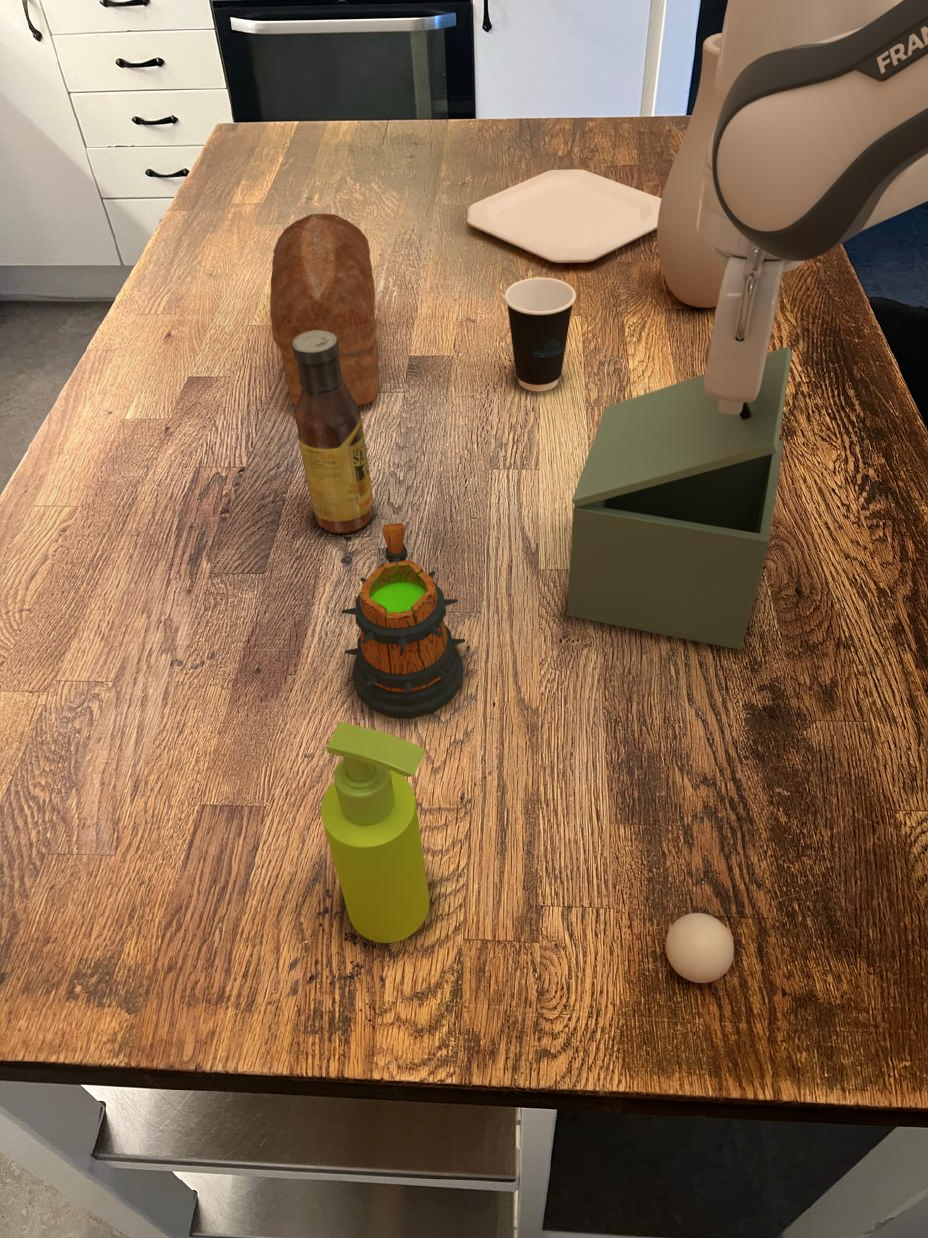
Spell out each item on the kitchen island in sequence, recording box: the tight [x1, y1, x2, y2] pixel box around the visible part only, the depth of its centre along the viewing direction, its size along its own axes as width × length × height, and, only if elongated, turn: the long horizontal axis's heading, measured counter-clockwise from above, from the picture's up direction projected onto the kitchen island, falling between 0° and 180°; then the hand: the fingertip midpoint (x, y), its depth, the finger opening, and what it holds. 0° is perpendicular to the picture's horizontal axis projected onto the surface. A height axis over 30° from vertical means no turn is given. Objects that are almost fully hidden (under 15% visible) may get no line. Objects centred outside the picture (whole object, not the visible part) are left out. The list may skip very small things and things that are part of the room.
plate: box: [466, 168, 662, 264], centre depth 141 cm, size 25×25×2 cm
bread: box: [269, 213, 380, 407], centre depth 115 cm, size 12×28×14 cm, turn 7°
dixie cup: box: [503, 277, 577, 392], centre depth 110 cm, size 8×8×11 cm
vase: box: [656, 32, 726, 309], centre depth 115 cm, size 14×14×30 cm
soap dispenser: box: [320, 721, 431, 944], centre depth 62 cm, size 6×7×20 cm
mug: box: [341, 522, 466, 719], centre depth 80 cm, size 13×10×12 cm
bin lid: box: [571, 346, 793, 507], centre depth 77 cm, size 17×14×5 cm
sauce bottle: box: [292, 330, 374, 534], centre depth 91 cm, size 7×6×20 cm
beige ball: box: [665, 912, 735, 984], centre depth 64 cm, size 4×4×4 cm
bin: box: [566, 439, 785, 651], centre depth 86 cm, size 16×14×13 cm
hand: (734, 385), depth 74 cm, fingers closed on bin lid, 5 cm apart
